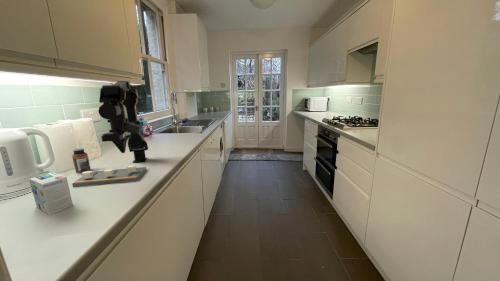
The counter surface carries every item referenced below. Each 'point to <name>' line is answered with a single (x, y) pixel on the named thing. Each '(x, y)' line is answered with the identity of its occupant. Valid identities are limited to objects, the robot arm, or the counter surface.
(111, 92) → the robot arm
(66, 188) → the light bulb box
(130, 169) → the switch
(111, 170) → the switch middle
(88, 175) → the switch right
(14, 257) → the counter surface
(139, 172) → the switch panel
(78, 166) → the supplement bottle
